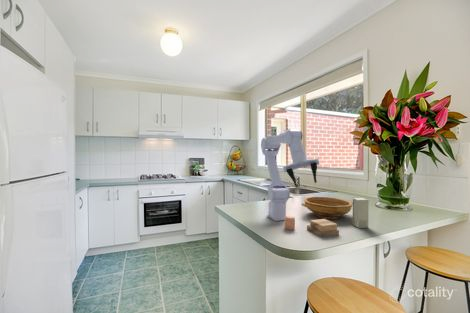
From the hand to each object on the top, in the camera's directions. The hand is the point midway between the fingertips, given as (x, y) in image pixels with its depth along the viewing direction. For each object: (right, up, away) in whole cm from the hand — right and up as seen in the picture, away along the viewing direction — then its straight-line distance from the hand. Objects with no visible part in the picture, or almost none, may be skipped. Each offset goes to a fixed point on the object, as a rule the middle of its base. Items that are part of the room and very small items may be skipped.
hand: (305, 184), depth 89 cm
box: (+29, -21, +13) cm, 39 cm away
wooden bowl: (+21, -21, +30) cm, 43 cm away
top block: (+9, -19, +5) cm, 22 cm away
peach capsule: (-4, -21, +9) cm, 23 cm away
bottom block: (+9, -22, +5) cm, 24 cm away
